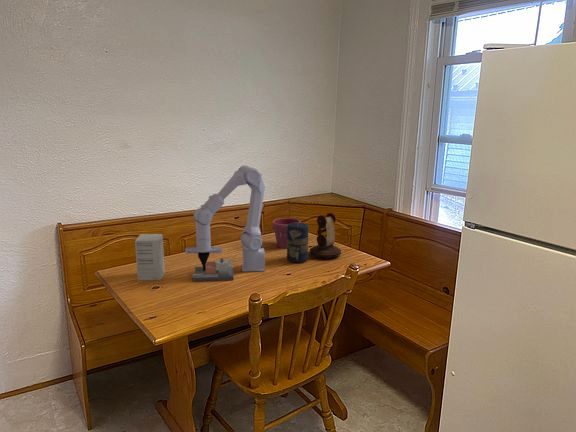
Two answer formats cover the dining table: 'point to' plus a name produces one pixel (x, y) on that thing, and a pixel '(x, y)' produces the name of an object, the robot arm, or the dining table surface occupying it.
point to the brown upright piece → (326, 238)
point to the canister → (297, 242)
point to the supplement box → (149, 256)
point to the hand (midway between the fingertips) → (204, 269)
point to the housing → (222, 266)
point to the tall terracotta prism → (211, 268)
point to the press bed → (202, 276)
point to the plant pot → (282, 230)
